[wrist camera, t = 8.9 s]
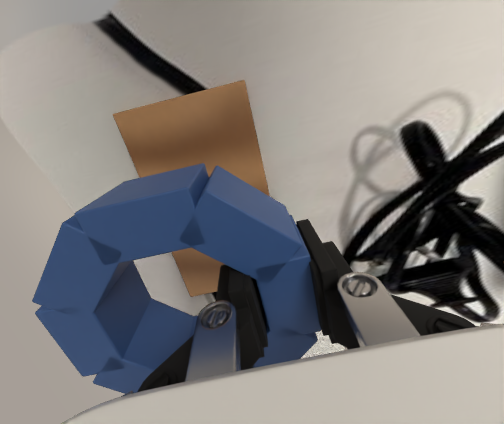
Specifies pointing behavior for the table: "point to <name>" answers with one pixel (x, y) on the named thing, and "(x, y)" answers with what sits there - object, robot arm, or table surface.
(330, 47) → the table surface
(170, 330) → the ring
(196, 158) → the mat
